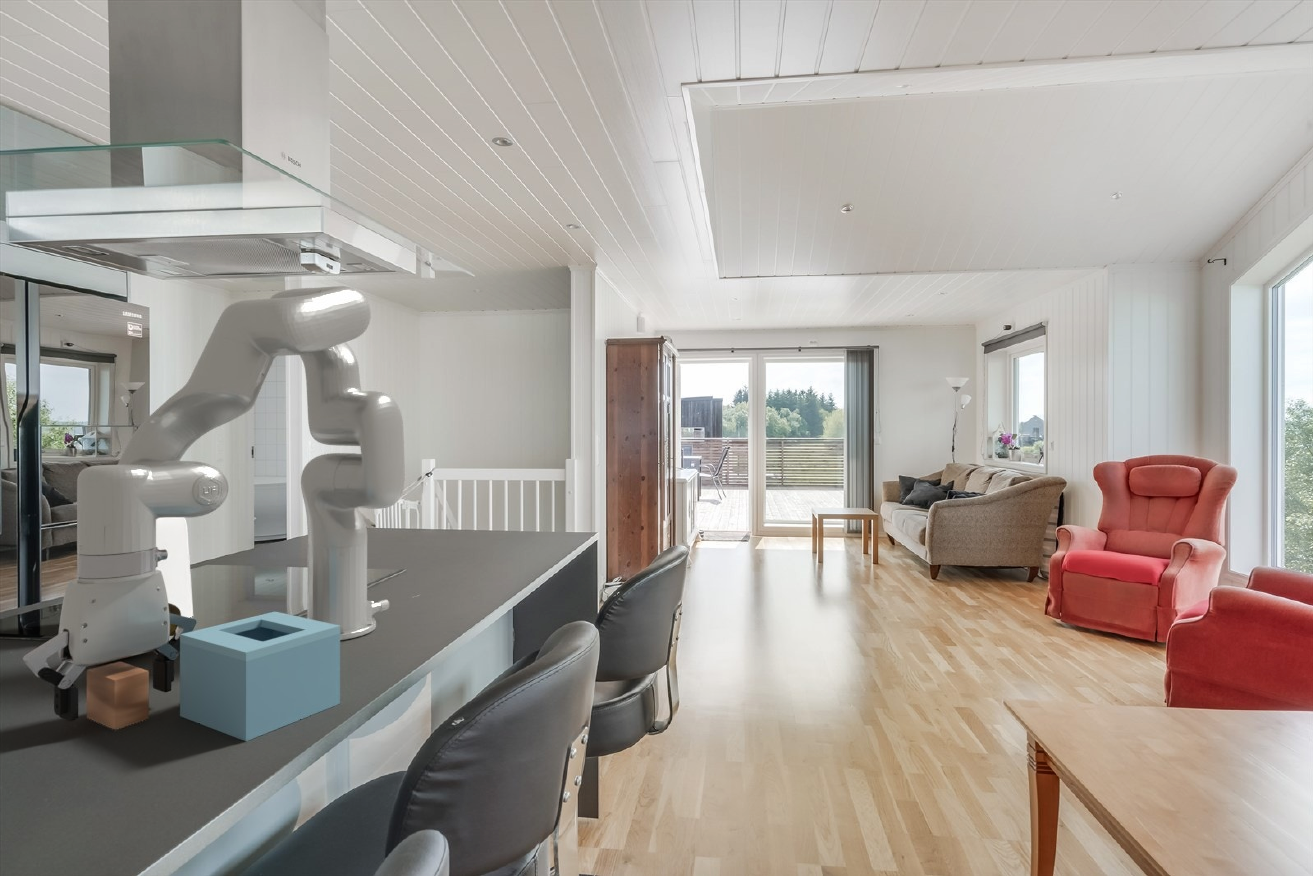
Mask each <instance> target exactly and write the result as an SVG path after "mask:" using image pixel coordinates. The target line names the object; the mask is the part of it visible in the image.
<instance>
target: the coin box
mask: <svg viewBox="0 0 1313 876" xmlns="http://www.w3.org/2000/svg"><path fill="white" fill-rule="evenodd" d="M340 704H341V640H340V626H339V625H334V624H330V623H325V622H321V621H316V620H312V619H307V617H302V616H297V615H292V614H287V613H284V612H280V611H272V612H268V613H267V612H266V613H264V614H259V615H254V616H251V617H246V618H243V619H239V620H234V621H230V622H229V621H228V622H225V623H222V624H218V625H214V626H210V627H209V626H208V627H206V628H205V627H204V628H201V629H195V630H193V631H192V632H188V633H183V634H180V652H179V716H180V717H181V718H184V719H186V720H189V721H192V722H194V723H197V724H199V723H200V725H202V726H205V727H207V728H210V729H213V730H216V731H218V732H220V733H223V734H226V735H228V736H231V737H233V738H236V739H238V740H241V741H244V742H248V741H251V740H253V739H256V738H258V737H261V736H263V735H266V734H268V733H271V732H273V731H276V730H279V729H280V728H283V727H285V726H288V725H290V724H292V723H295V722H298V721H301V720H302V719H305V718H308V717H310V715H311V716H314V715H315V714H318V713H320V712H323V711H326V710H328V709H330V708H333V707H335V706H338V705H340ZM300 719H301V720H300Z"/></svg>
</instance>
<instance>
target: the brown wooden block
mask: <svg viewBox="0 0 1313 876" xmlns="http://www.w3.org/2000/svg"><path fill="white" fill-rule="evenodd" d="M149 675H150V671H149V670H146V669H144V668H140V667H138V666H135V665H133V664H129V663H126V662H123V661H116V662H113V663H109V664H105V665H101V666H98V667H94V668H89V669H86V719H88V718H89V719H88V720H90V719H93V720H94V721H93V722H95V721H97V722H99V723H103V724H105V725H107V726H109V727H110V728H114V729H117V728H120V729H122V728H126V727H125V726H127V727H129V726H128V725H130V726H132V725H131V724H133V723H136V724H139V723H141V722H140V721H142V720H144V719H148V720H150V717H149V716H150V712H149V711H150V706H149V705H150V703H149V702H150V695H149V694H150V691H149V690H150V688H149V687H150V685H149V684H150V681H149V679H150V676H149ZM97 722H96V723H97ZM138 722H139V723H138ZM142 722H143V721H142ZM99 723H98V724H99ZM133 725H134V724H133ZM110 728H109V729H110ZM117 730H118V729H117Z"/></svg>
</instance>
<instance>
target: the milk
mask: <svg viewBox="0 0 1313 876" xmlns="http://www.w3.org/2000/svg"><path fill="white" fill-rule="evenodd" d="M188 532H189V530H188V523H187V520H186V518H182V517H165V518H158V519H156V547H158V549H159V550H164V549H165V550H167V553H168V557H167V559H165V560H161V561H159V562H158V567H156V570H160V571H161V573H162V576H163V579H164V583H165V587H166V592H167V598H168V603H170V604H173V605H175V606H177V607H178V608H179V610H180V612H181V616H184V617H188V618H190V617H191V618H193V617H194V607H193V591H192V575H191V562H190V561H191V559H190V545H189V533H188ZM192 616H193V617H192Z"/></svg>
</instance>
